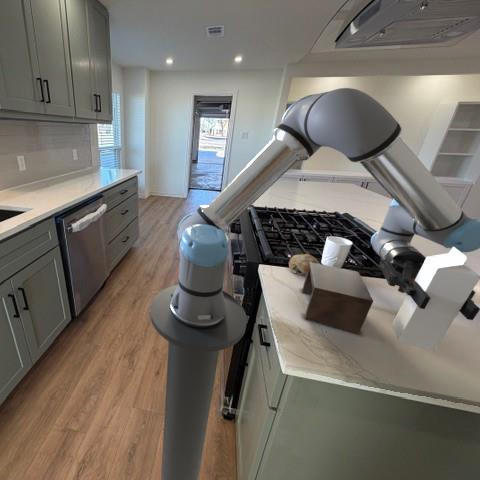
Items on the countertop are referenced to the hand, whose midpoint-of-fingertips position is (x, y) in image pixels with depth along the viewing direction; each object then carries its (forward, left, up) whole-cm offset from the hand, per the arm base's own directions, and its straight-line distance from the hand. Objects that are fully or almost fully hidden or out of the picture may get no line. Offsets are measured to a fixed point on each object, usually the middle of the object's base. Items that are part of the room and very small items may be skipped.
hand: (448, 308), depth 49 cm
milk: (0, +5, -12) cm, 13 cm away
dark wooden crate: (-15, +13, -15) cm, 25 cm away
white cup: (-10, +45, -15) cm, 49 cm away
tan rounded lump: (-20, +35, -15) cm, 43 cm away
